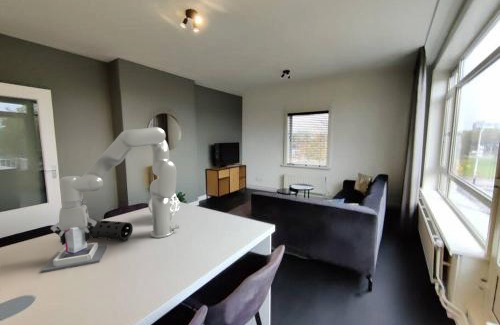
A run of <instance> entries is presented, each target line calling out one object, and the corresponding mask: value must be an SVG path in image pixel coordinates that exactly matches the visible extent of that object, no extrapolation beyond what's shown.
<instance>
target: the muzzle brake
mask: <svg viewBox="0 0 500 325" xmlns="http://www.w3.org/2000/svg"><path fill="white" fill-rule="evenodd" d="M91 219H92V220H95V221H97V223H96V225H95V226H94V227H93V229H92V230H91V231H90V238H92V239H96V240H97V239H106V240H111V241H119V242H120V241H121V242H126V241H128V239H129V238H131V236H132V234H133V228H134V227H133V223H132V222H129V221H128V222H126V221H117V220H115V221H113V220H101V219H94V218H91ZM91 225H92V223H89V224H88V226H89V227H90V226H91Z"/></svg>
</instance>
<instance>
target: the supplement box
mask: <svg viewBox="0 0 500 325" xmlns="http://www.w3.org/2000/svg"><path fill="white" fill-rule="evenodd" d="M64 233H65V244H64V246H65V248H66V252H67V253H71V254H76V253H78V252H80V251H83V250H85V249H87V244H88V241H87V242H86V241H85V233H86V231H85V230H84V229H83V228H82V229H79V228H78V227H74V228H69V229H68V230H67V231H65V232H64Z"/></svg>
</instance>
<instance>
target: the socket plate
mask: <svg viewBox="0 0 500 325" xmlns="http://www.w3.org/2000/svg"><path fill="white" fill-rule="evenodd" d="M107 248H108V244H102V245H99V244H98V242H92V243H91V242H90V243H87V249H85V250H83V251H80V252H78V253H76V254H71V253H67V252H66V247H64V248H63V249H62V250H61V251H59V252H58V251H57V253H56V254H54V255H53V257H51V259H49V261H48V262H47V263H46V265H45V266H43V267H42V268H41V270H40V273H41V274H44V273H49V272H55V271H60V270H66V269H71V268H77V267H81V266H87V265H93V264H97V263H98V264H99V263H100V262H101V260H102V258H103V256H104V255H105V253H106V250H107Z"/></svg>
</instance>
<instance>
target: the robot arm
mask: <svg viewBox="0 0 500 325" xmlns="http://www.w3.org/2000/svg"><path fill="white" fill-rule="evenodd" d="M166 136H167V135H166V132H165V130H164V129H162V127H158V126H156V127H155V126H153V127H147V128H145V127H144V128H134V129H126V130H123V131H121V132H120V133H119V135H118V136H117V137H116V138H115V139H114V140H113V141H112V143H111V144H110V145H109V146H108V147H107V149H106V150H105V151H104V152H103V153H102V154H101V155H100V156H99V157H98V158H97V159H96V160H95V161H94V163H92V164H91V165H90V166H89V168H88V169H87V170H86V171H85V172H84V174H83V175H82V176H80V175H70V176H69V175H68V176H63V177H61V178H60V179H59V189H60V200H61V201H60V202H61V208H60V209H59V214H58V215H59V216H58V222H57V223H55V224H54V225H53V226H51V227H50V230H51V231H53V233H54V234H56V235H58V237H59V241H60V243H61V245H62V246H65V233H64V232H65V231H67V230H68V229H69V228H74V227H78V228H79V229H82V228H83V229H84V230H85V231H86V233H85V241H86V242H87V243H88V241H90V239H91V237H90V231H91V230H92V229H93V227H94V226H95V225H96V223H97V221H95V220H96V219H95V220H92V219H93V218H90V216H89V210H88V207H87V205H86V204H87V203H88V200H87V199H84V192H96V191H99V190H101V189H102V187H104V180H103V178H104V177H105V176H106V175H107V173H108V172H109V171H111V170H112V169H113V168H115V167H116V166H118V165H120V164H121V163H122V162H124V160H125V159H126V157H127V156H128V155H129V153H130V152H132V150H133V149H134V148H137V147H138V148H139V147H146V146H150V147H151V149H152V167H151V168H152V170H151V171H152V172H153V174H154V175H155V176H156V177H158V178H156V179H154V180H152V181H151V183H150V184H149V194H150V199H151V200H152V213H151V215H152V229H153V230H152V231H151V232H149V233H150V234H149V235H150V237H152V238H156V239H158V238H159V239H161V238H166V237H169V236H171V235H173V234H174V233H175V230H179V229H180V225H177V224H178V223H177V224H172V221H171V220H172V219H171V218H172V217H171V215H170V213H171V212H170V204H171V203H170V198H171V197H172V196H173V195H174V193H175V194H176V189H177V176H178V175H177V174H178V171H177V167H176V165H175V163H174V162H173V161H171V160H170V148H169V145H168V142H167V140H166ZM89 223H92V225H91V226H90V227H89V226H88V224H89Z"/></svg>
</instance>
